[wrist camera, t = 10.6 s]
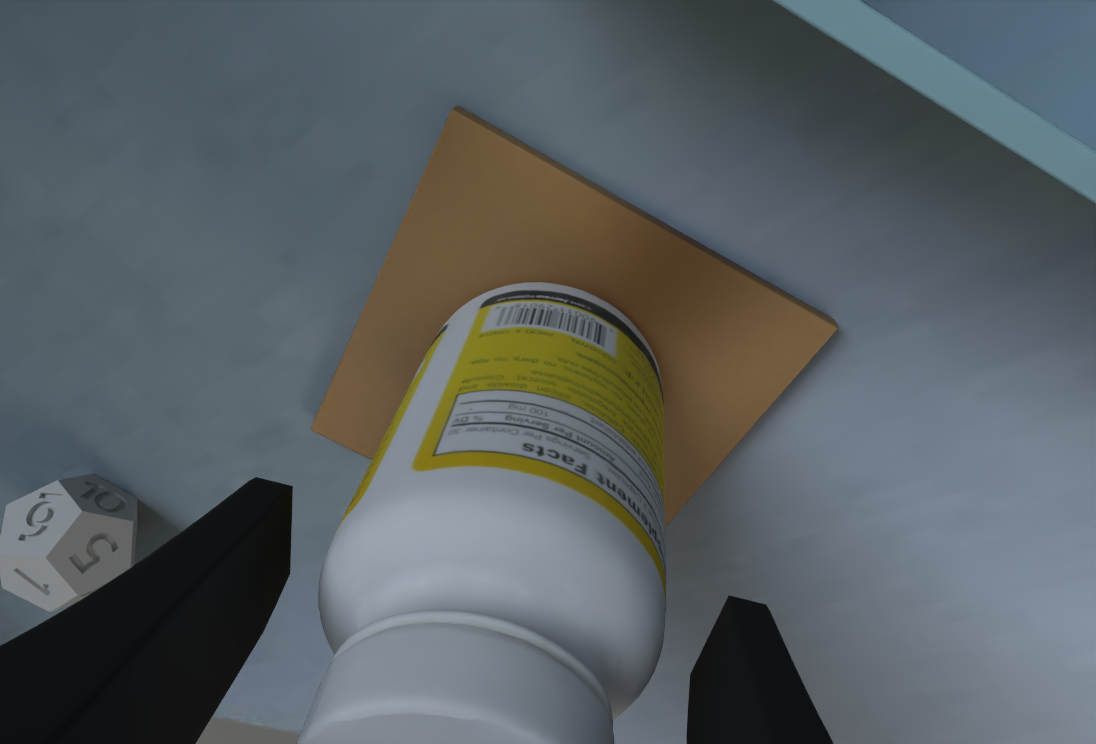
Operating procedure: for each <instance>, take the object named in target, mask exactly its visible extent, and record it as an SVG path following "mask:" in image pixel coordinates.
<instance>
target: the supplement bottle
mask: <svg viewBox="0 0 1096 744" xmlns="http://www.w3.org/2000/svg"><path fill="white" fill-rule="evenodd" d="M663 405H664V399H663V389H662V381H661V376H660V372H659V368H658V364H657V361H656V359H655V356H654V354H653V352H652V350H651V348H650V346H649V344H648V343H647V341H646V339H645V338H644V337H643V335H642V334H641V332H640V331H639V330H638V329H637V328H636V326H635V325H634V324H633V323H632V322H631V321H630V320H629V319H628V318H627V317H626V316H625V315H624V314H623V313H621V312H620V311H619V310H618V309H616V308H615V307H614V306H612V305H611V304H609V303H607V302H606V301H604V300H602V299H600V298H598V297H596V296H594V295H592V294H590V293H588V292H585V291H583V290H580V289H576V288H573V287H569V286H565V285H559V284H553V283H544V282H525V283H518V284H512V285H507V286H503V287H500V288H497V289H494V290H491V291H488V292H486V293H484V294H482V295H480V296H478V297H476V298H474V299H472V300H471V301H469V302H468V303H466V304H465V305H464V306H462V307H461V308H460V309H459V310H457V311H456V312H455V313H454V314H453V315H452V316H451V317H450V318H449V320H448V321H447V322H446V323H445V324H444V325H443V327H442V328H441V330H440V331H439V333H438V334H437V336H436V338H435V339H434V341H433V342H432V344H431V346H430V348H429V350H428V352H427V354H426V355H425V357H424V359H423V361H422V363H421V364H420V366H419V369H418V371H417V373H416V375H415V377H414V379H413V381H412V383H411V385H410V387H409V389H408V391H407V393H406V395H405V397H404V399H403V401H402V403H401V405H400V406H399V408H398V410H397V412H396V414H395V416H394V418H393V420H392V422H391V424H390V426H389V428H388V430H387V432H386V434H385V436H384V438H383V440H382V442H381V444H380V446H379V448H378V450H377V452H376V454H375V456H374V458H373V460H372V462H371V464H370V466H369V468H368V470H367V472H366V474H365V476H364V478H363V480H362V482H361V483H360V485H359V487H358V489H357V491H356V493H355V495H354V497H353V499H352V501H351V503H350V505H349V507H348V509H347V511H346V513H345V515H344V517H343V519H342V521H341V523H340V525H339V527H338V529H337V531H336V533H335V535H334V538H333V540H332V543H331V545H330V548H329V550H328V552H327V555H326V558H325V560H324V563H323V567H322V571H321V576H320V581H319V611H320V617H321V622H322V626H323V629H324V632H325V635H326V638H327V640H328V643H329V645H330V647H331V649H332V651H333V652H334V654H335V656H334V658H333V659H332V661H331V663H330V667H329V669H328V670H327V672H326V674H325V675H324V678H323V680H322V682H321V684H320V686H319V689H318V691H317V694H316V697H315V699H314V701H313V704H312V706H311V709H310V711H309V714H308V716H307V719H306V721H305V724H304V726H303V729H302V731H301V733H300V735H299V738H298V741H297V744H614V734H613V719H615V718H616V717H617V716H619V715H620V714H621V713H622V712H624V711H625V710H626V709H627V708H628V707H629V706H630V705H631V704H632V703H633V702H634V701H635V700H636V699H637V698H638V697H639V695H640V694H641V692H642V691H643V690H644V688H645V687H646V685H647V684H648V682H649V680H650V679H651V677H652V675H653V673H654V671H655V668H656V666H657V663H658V660H659V657H660V653H661V649H662V645H663V638H664V626H665V611H666V560H665V478H664V407H663Z"/></svg>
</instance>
